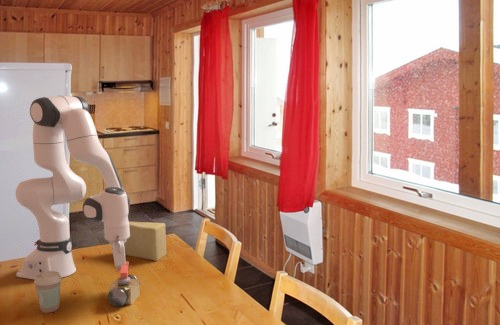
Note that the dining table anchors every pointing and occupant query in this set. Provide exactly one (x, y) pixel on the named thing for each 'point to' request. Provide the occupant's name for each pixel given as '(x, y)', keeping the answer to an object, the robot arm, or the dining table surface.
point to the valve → (124, 292)
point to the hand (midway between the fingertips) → (119, 269)
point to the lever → (124, 275)
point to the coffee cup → (48, 290)
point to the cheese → (146, 240)
